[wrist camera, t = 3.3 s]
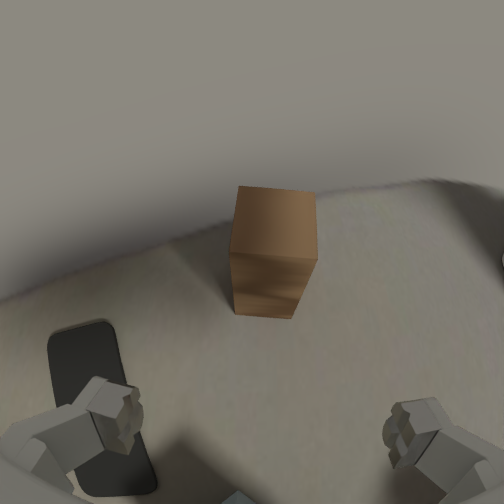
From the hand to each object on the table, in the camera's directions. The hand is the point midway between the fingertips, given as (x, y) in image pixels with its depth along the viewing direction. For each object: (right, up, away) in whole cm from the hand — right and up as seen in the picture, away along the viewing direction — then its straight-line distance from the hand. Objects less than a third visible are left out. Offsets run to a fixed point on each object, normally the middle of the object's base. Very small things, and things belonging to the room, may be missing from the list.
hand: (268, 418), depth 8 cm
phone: (-13, -8, +11) cm, 19 cm away
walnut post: (+1, +2, +17) cm, 17 cm away
